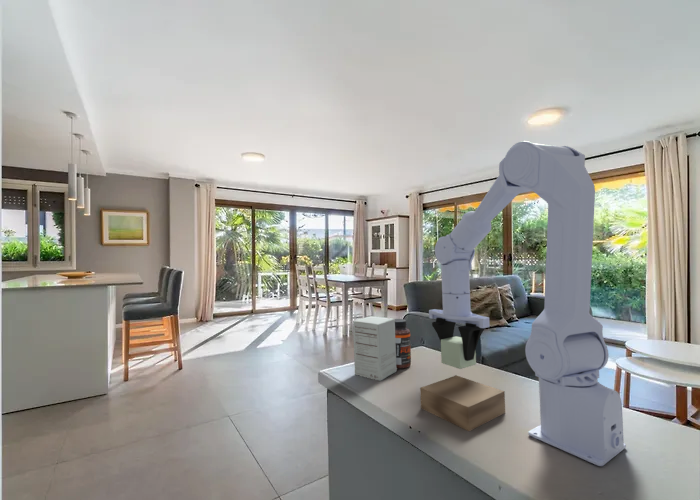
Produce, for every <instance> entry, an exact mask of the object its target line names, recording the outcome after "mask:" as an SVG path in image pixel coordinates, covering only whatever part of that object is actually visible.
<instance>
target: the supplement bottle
mask: <svg viewBox="0 0 700 500" xmlns="http://www.w3.org/2000/svg"><path fill="white" fill-rule="evenodd" d="M394 319H395V342H396V368H397V369H407V368H409V367H411V364H412V354H411V353H412V351H411V349H412V348H411V331H410V328H408V327H407V320H406V319H402V318H394Z"/></svg>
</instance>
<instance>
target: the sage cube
mask: <svg viewBox="0 0 700 500" xmlns="http://www.w3.org/2000/svg"><path fill="white" fill-rule="evenodd" d="M476 351H477V350H475V355H474V359H473V360H470V361H466V360H465V359H464V353H463V342H462V338H461V336H457V335H456V336H453V337H451V338H446V339H442V340H441V342H440V356H441V363H442V364H443V365H446V366H449V367H453V368H456V369H459V370H463V369H465V368H469V367H471V366H476V365H477V353H476Z"/></svg>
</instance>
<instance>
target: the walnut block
mask: <svg viewBox="0 0 700 500" xmlns="http://www.w3.org/2000/svg"><path fill="white" fill-rule="evenodd" d="M419 389H420V393H419V394H420V409H422V410H424V411H426V412H428V413H430V414H432V415H433V416H436V417H438V418H440V419H442V420H444V421H446V422H448V423H451V424H452V425H454V426H456V427H459V428H461V429H463V430H466V431H467V432H471V431H473V430H475V429H477V428H478V427H479V428H480V427H481V426H482V425H484V424H487V423H488V422H490V421H493V420H494V419H496V418H497V417H500V416H502V415H504V414H506V399H505V398H506V395H505V393H506V392H505V390H501V389H498V388H496V387H492V386H490V385H487V384H483V383H480V382H478V381H475V380H472V379H468V378H465V377H463V376H459V375H457V374H456V375H453V376H451V377H450V376H449V377H448V378H444V379H442V380H440V381H436V382H433V383H429V384H428V385H424V386H422V387H420V388H419Z"/></svg>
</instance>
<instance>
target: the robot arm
mask: <svg viewBox="0 0 700 500" xmlns="http://www.w3.org/2000/svg"><path fill="white" fill-rule="evenodd" d="M585 161H586V155H585V154H584V153H582V152H580V151H578V150H577V149H574V148H573V147H571V146H568V145H560V146H559V145H552V144H551V145H550V144H543V143H535V142H531V141H529V140H528V141H527V140H522V141H518V142H516V143H514V144H513V145H512V146H511V147H510V148H509V149H508V151H507V152H506V154H505V157H504V158H502V160H501V161H500V162H499V164H498V173H499V174H498V176H497V178H496V179H495V181H494V182H493V184H492V185H491V187H490V188H489V190H488V191H487V193H486V194H485V196H484V197H483V198H482V200H481V201H480V203H479V205H478V207H477V208H476V209H475V210H470V211H467V212H466V213H465V212H464V214H462V216H461V218H460V220H459V221H458V223H457V225H456V226H455V227H454V228H453V229H452V231H451V232H450V233H449V234H446V235H444V236H440V237H439V238H438V239H437V241H436V243H435V247H434V256H435V258H436V260H437V262H438V263H440V270H441V272H440V273H441V274H440V275H441V294H442V295H441V297H442V309H436V308H434V309H429V310H428V319H432V320H433V319H435V321H433V322H431V325H432V327H433V330H434V331H435V333H436V335H437V337H438V338H439V342H440V343H441V340H442V339H446V338H451V337H454V333H455V332H454V331H455V327H456V323H458V324H462V326H458V331H459V333H460V334H459V335H460V337H461V338H462V342H463V353H464V359H465V360H466V361H470V360H473V359H474V355H475V350H476V349H477V346H478V343H479V340H480V338H481V336H482V335H483V332H484V331H485V329H486V328H490V327H491V326H490V325H491V324H490V317H489V316H485V315H484V316H483V315H480V314H477V313H473V312H472V309H471V286H470V284H471V282H470V281H471V280H470V272H471V270H472V267H473V266H472V262H473V259H474V257H475V254H476V253H475V252H476V249H475V248H476V247H478V245H479V244H480V243H481V242H482V241H484V239H485V238H486V236H487V235H488V234H489V233H490V232H491V230H492V221H493V219H495V218H496V217H497V216H498V215H499V214H500V213H501V212H502V211H503V210H504V209H505V208H506V207H507V206H508V205H509V204H510V203H511V202H512V201H514V199H515V198H516V197H517V196H518V195H519V194H522V193H529V192H534V193H535V194H536V195H537V196H539V197H540V199H542V200H544V201H545V202H546V203H547V228H546V229H547V230H546V231H547V233H546V250H545V251H546V252H545V253H546V256H545V258H546V259H545V277H544V278H545V279H544V281H545V283H544V284H545V285H544V303H543V304H544V308H543V310H542V311H541V313H540V314H539V315H538V316H537V317H536V318H535V319H534V320H533V321H532V324H531V332H530V335H529V337H528V339H527V341H526V343H525V349H524V351H525V357H526V358H525V359H526V361H527V363H528V366H529V367H530V368H531V370H532V371H533V372H534V376H535V377H537V378H538V392H539V417H540V418H539V419H540V424H539V425H537V426H536V427H534V428H531V429H530V430H528V431H527V434H528V435H529V436H530V437H532V438H534V439H537V440H539V441H542V442H543V443H546V444H548V445H550V446H552V447H555V448H557V449H559V450H561V451H564V452H566V453H568V454H571V455H573V456H575V457H577V458H579V459H581V460H585V461H586V462H589V463H591V464H594V465H596V466H598V467H603V466H604V465H606V464H607V463H608V462H610V461H611V460H612V459H613V458H614V457H616V456H617V455H618V454H620V452H622V451H623V450H625V449H626V448H627V444H626V443H625V441H624V424H623V423H624V422H623V421H624V419H623V405H622V399H621V396H620V394H619V392H618V391H617V390H615V389H612V388H609V387H607V386H605V385H603V384H602V383H600V382H599V381H598V379H599V378H600V370H602V369H604V367H605V366H607V364H608V361H609V357H610V356H609V354H610V353H609V349H608V346H607V344H606V342H605V340H604V335H603V324H601V322H599V321H598V320H597V319H596V318H595V317H593V316H592V315H591V314H590V309H591V291H592V290H591V286H592V285H591V284H592V268H593V267H592V266H593V265H592V264H593V246H594V245H593V244H594V223H595V203H596V202H595V199H596V198H595V197H596V188H595V184H594V181H593V179H592V178H591V176H590V173H589V172H588V169H586V166H585V165H586V164H585V163H586V162H585ZM476 351H477V350H476Z"/></svg>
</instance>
